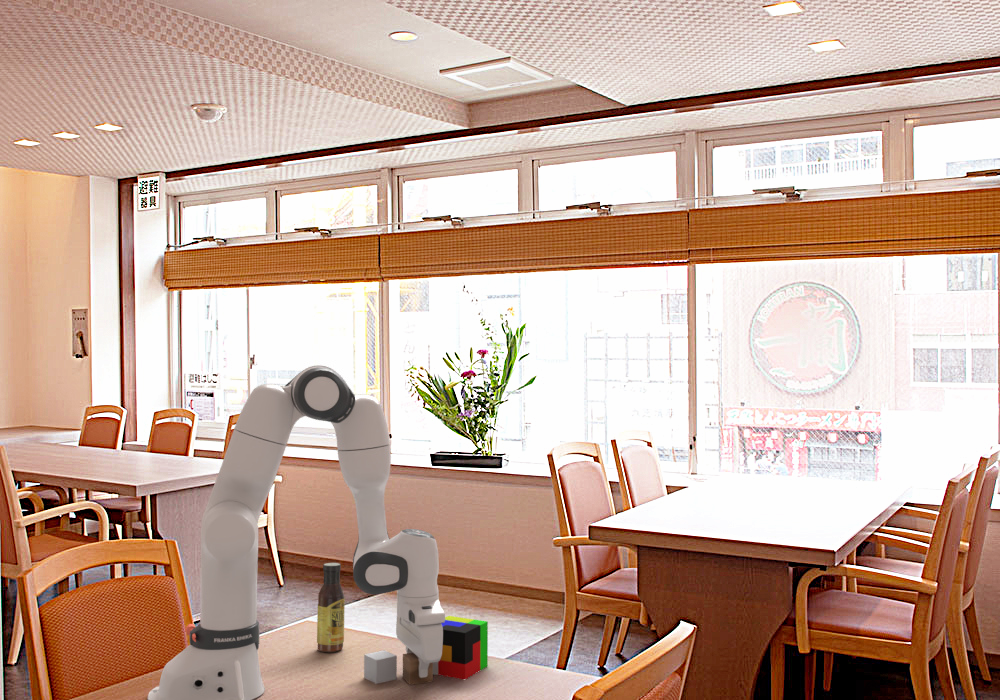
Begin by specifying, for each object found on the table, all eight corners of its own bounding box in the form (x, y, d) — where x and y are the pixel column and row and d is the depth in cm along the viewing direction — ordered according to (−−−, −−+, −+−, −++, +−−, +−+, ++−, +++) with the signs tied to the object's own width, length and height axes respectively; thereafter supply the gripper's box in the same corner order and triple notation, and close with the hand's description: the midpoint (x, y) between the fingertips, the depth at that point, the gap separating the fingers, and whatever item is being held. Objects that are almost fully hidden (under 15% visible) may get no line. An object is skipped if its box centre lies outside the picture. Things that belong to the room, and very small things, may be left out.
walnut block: (409, 684, 198) (410, 660, 198) (402, 677, 202) (402, 653, 202) (432, 681, 200) (432, 657, 200) (424, 674, 204) (424, 651, 204)
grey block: (376, 684, 198) (376, 660, 198) (364, 677, 202) (364, 654, 202) (396, 679, 202) (396, 655, 202) (384, 673, 205) (384, 650, 205)
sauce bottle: (335, 654, 218) (335, 568, 218) (311, 651, 220) (312, 566, 220) (349, 646, 224) (349, 562, 224) (326, 644, 226) (326, 560, 226)
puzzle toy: (425, 672, 206) (425, 626, 206) (448, 660, 215) (448, 615, 215) (465, 680, 201) (465, 632, 201) (487, 666, 210) (487, 621, 210)
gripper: (389, 596, 210) (389, 659, 209) (418, 619, 191) (418, 688, 191) (416, 593, 212) (416, 656, 212) (448, 616, 193) (448, 684, 193)
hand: (417, 671), depth 201 cm, fingers closed on walnut block, 5 cm apart
